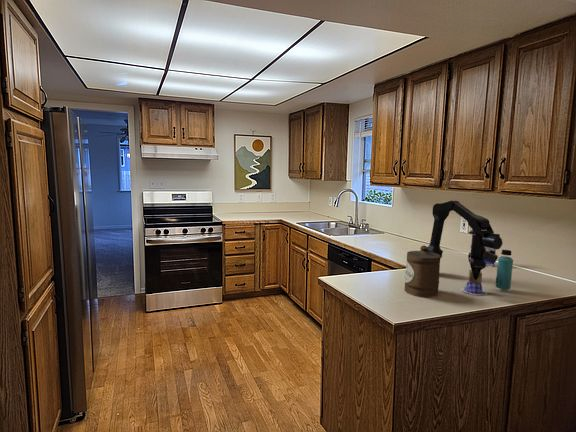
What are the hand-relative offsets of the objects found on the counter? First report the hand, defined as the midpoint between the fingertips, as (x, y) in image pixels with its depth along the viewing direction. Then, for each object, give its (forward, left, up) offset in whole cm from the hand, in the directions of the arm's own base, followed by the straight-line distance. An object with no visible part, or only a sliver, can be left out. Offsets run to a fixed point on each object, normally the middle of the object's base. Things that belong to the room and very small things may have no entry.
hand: (474, 277), depth 175 cm
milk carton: (+11, +60, -7) cm, 61 cm away
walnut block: (0, 0, -2) cm, 2 cm away
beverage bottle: (+13, +8, -7) cm, 17 cm away
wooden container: (-23, -13, -7) cm, 27 cm away
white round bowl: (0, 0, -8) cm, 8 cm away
